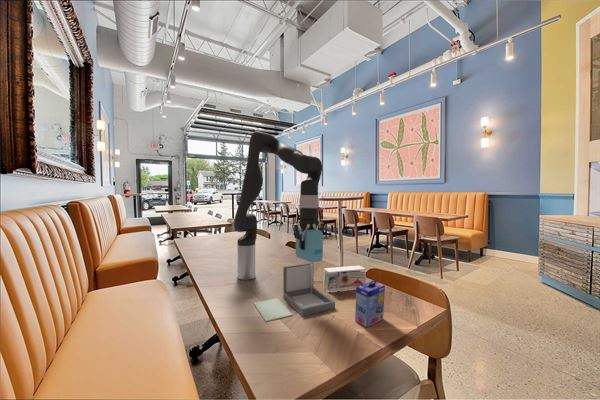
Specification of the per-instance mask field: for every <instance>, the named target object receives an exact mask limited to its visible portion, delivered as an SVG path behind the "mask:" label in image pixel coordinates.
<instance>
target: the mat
mask: <svg viewBox="0 0 600 400" xmlns="http://www.w3.org/2000/svg"><path fill="white" fill-rule="evenodd" d="M253 305H254V306H255V308H256V310H257V311H258V313H259V315H261V317H262V318H263V320H264V321H265V322H267V323H268V322H270V321H275V320H279V319H284V318H288V317H292V316H293V314H292V312H291V311H290V310H289V309H288V307H286V305H284V303H282V302H281V300H280V299H279V298H272V299H267V300H263V301H262V300H261V301H256V302H254V303H253Z"/></svg>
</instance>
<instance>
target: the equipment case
mask: <svg viewBox="0 0 600 400" xmlns="http://www.w3.org/2000/svg"><path fill="white" fill-rule="evenodd" d="M314 264H315V262H313V263H312V262H308V263H301V264H294V265H287V266H285V265H284V266H283V267H282V268H283V271H282V273H283V277H282V278H283V280H282V281H283V284H282V286H283V288H282V289H283V293H282V294H283V295H282V297H283V299H284V300H285V301H287V302H288V303H289V305H291V307H292V308H294V310H296V312H297V313H298V314H300V315H301V317H304V316H308V315H309V316H310V315H313V314H317V313H321V312H325V311H330V310H334V309H336V302H335V301H334V299H332V298H330V297H329V296H327V295H326V294H324V293H323V292H321V291H320V290H319V289H317V288H316V287H314V266H315V265H314Z"/></svg>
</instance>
